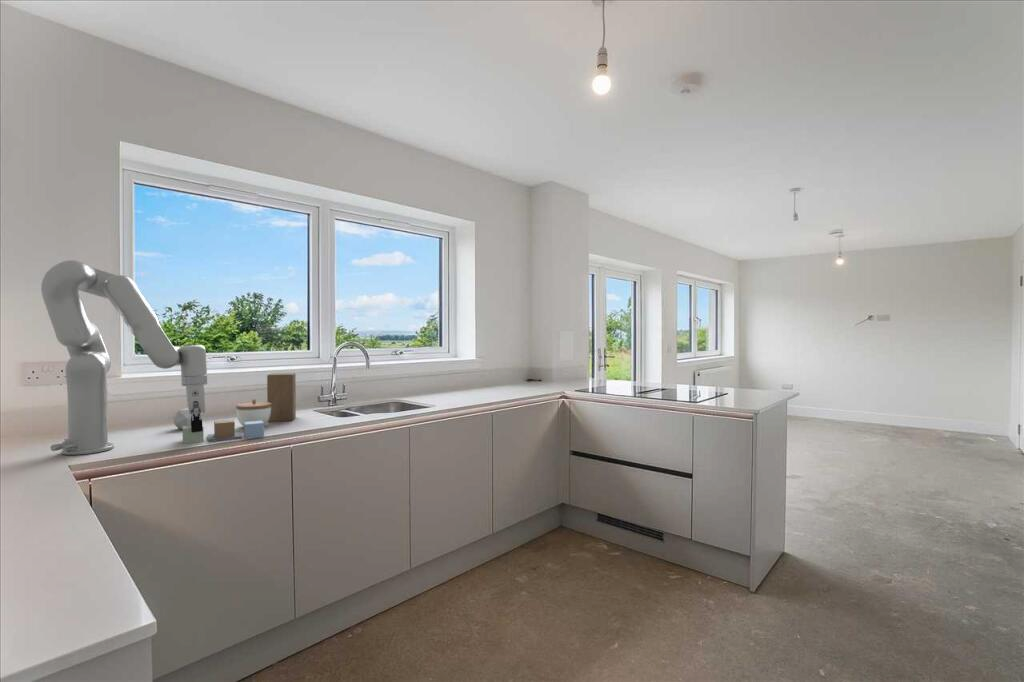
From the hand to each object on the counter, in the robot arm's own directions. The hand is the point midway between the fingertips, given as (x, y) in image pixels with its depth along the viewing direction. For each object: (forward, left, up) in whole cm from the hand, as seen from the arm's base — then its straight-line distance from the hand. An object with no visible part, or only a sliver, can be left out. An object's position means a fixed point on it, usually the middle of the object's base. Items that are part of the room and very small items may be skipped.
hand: (196, 429), depth 173 cm
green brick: (-1, +1, -4) cm, 4 cm away
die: (+17, +21, -4) cm, 27 cm away
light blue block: (+11, -14, -4) cm, 18 cm away
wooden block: (+43, -2, -4) cm, 43 cm away
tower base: (+6, -6, -4) cm, 9 cm away
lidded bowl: (+26, -2, -4) cm, 26 cm away
